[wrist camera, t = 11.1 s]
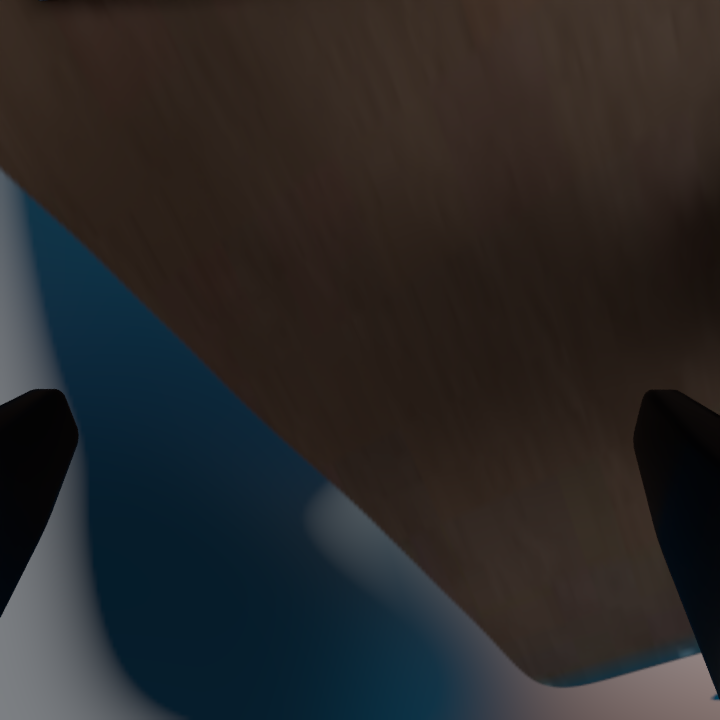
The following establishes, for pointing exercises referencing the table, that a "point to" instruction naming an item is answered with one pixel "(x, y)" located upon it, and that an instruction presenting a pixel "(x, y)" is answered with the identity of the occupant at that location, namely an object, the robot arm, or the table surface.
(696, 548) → the robot arm
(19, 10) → the table surface
